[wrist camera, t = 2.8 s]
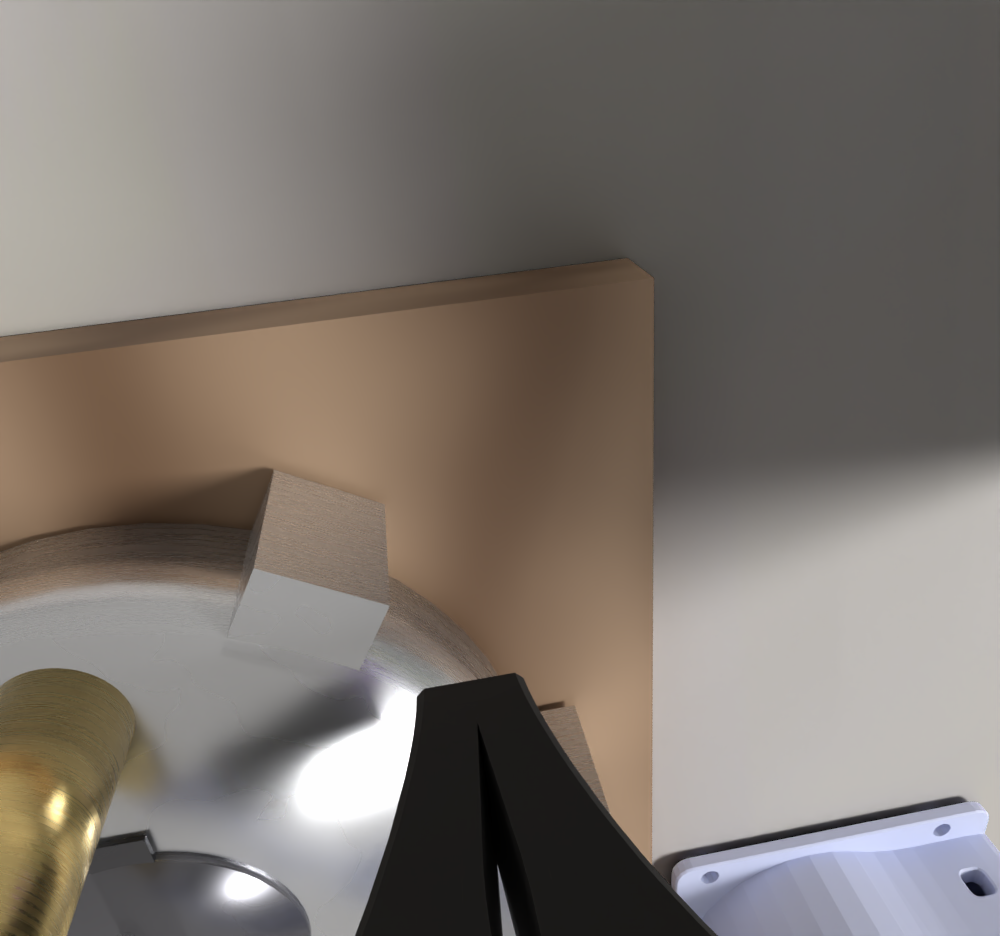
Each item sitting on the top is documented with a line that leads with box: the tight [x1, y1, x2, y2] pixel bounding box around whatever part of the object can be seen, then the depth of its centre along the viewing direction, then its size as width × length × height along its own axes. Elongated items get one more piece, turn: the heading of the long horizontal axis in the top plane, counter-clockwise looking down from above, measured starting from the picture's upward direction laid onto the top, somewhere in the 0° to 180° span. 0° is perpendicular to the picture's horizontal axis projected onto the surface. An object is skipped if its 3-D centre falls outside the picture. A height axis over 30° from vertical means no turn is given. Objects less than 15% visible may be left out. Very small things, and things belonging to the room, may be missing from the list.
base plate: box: [0, 258, 654, 865], centre depth 18 cm, size 20×20×2 cm
